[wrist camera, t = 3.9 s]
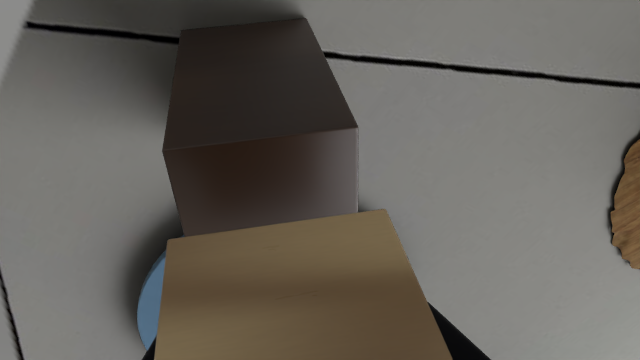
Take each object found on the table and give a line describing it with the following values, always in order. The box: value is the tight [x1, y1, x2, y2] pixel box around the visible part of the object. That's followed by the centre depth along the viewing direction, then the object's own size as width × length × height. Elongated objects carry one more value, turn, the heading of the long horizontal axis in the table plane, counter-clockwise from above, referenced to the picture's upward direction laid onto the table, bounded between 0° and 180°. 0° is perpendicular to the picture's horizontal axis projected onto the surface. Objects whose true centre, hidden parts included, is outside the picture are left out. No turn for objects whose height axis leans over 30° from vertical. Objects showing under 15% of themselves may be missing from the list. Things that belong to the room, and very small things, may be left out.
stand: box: [162, 18, 358, 237], centre depth 16 cm, size 4×4×8 cm
